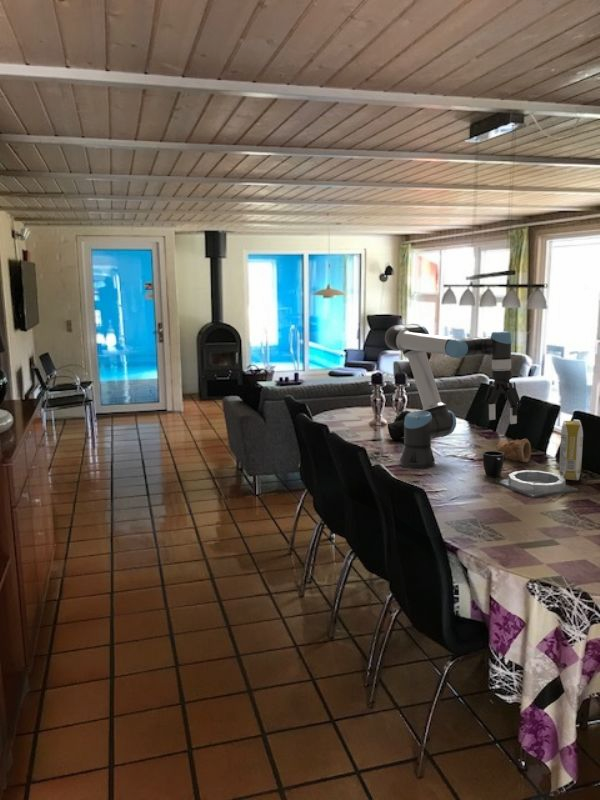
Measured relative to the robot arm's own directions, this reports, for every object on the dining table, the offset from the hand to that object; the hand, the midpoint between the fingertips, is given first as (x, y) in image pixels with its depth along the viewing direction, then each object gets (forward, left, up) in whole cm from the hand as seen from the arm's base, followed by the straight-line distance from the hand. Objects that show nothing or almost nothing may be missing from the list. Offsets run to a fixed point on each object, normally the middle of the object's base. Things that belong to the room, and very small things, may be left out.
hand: (502, 421), depth 258 cm
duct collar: (+2, -19, -23) cm, 29 cm away
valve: (-2, +67, -23) cm, 71 cm away
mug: (-4, -1, -23) cm, 23 cm away
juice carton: (+23, -14, -23) cm, 35 cm away
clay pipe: (+22, +20, -23) cm, 38 cm away
